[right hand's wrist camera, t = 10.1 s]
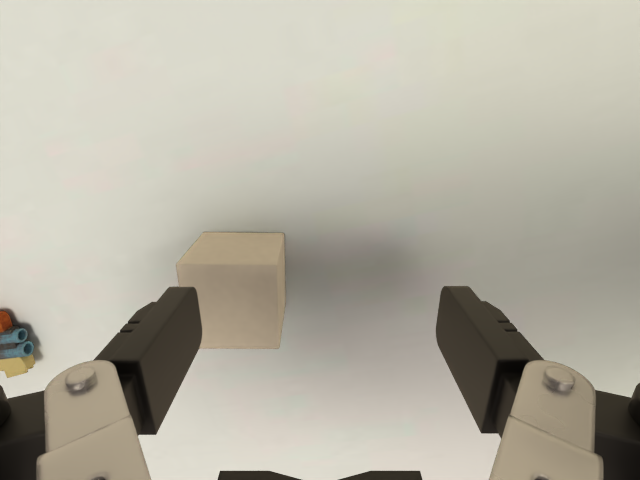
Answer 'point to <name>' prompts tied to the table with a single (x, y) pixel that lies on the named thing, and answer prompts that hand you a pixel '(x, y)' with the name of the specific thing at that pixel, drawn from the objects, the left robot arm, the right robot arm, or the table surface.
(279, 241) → the beige cube
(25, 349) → the toy gun
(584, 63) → the table surface
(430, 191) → the table surface
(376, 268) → the table surface
